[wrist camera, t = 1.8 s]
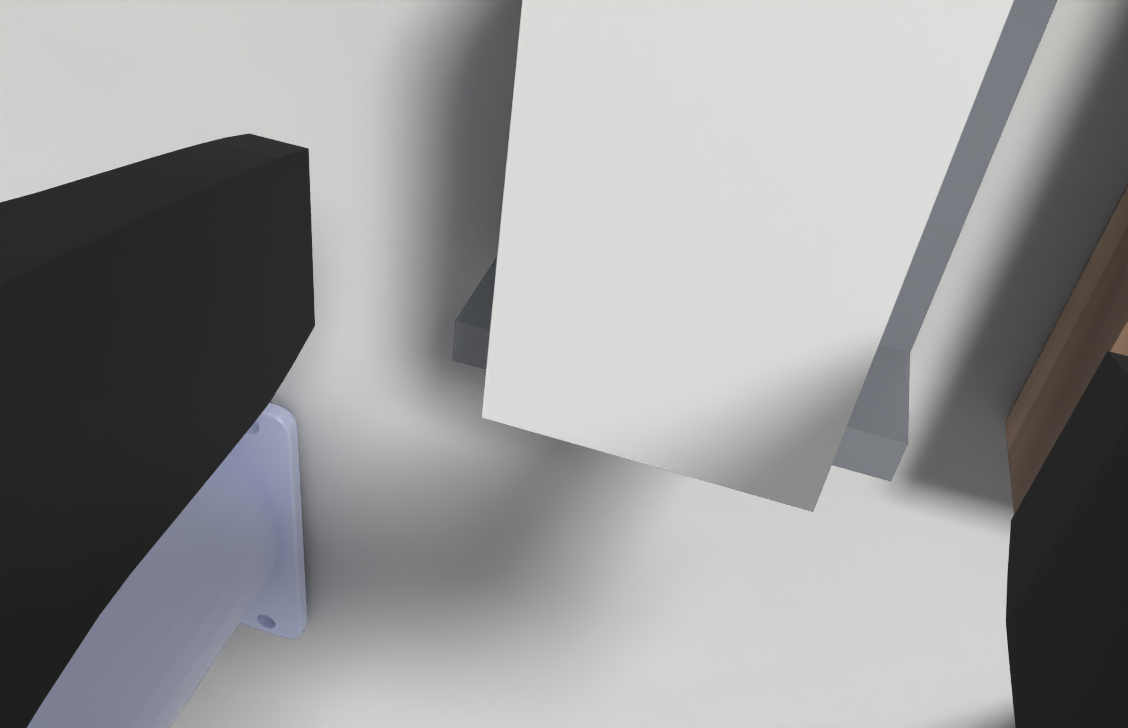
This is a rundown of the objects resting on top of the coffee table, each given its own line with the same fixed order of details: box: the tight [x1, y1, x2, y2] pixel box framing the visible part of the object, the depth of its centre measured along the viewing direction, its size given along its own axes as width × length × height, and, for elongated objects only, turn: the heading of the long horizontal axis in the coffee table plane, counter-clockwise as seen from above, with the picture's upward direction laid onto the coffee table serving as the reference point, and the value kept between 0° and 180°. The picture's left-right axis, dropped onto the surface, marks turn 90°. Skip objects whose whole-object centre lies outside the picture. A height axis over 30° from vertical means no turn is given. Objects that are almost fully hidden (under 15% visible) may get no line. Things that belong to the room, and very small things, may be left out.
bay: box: [453, 0, 1057, 481], centre depth 15 cm, size 7×10×3 cm
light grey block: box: [482, 0, 1014, 512], centre depth 13 cm, size 4×7×6 cm, turn 172°
